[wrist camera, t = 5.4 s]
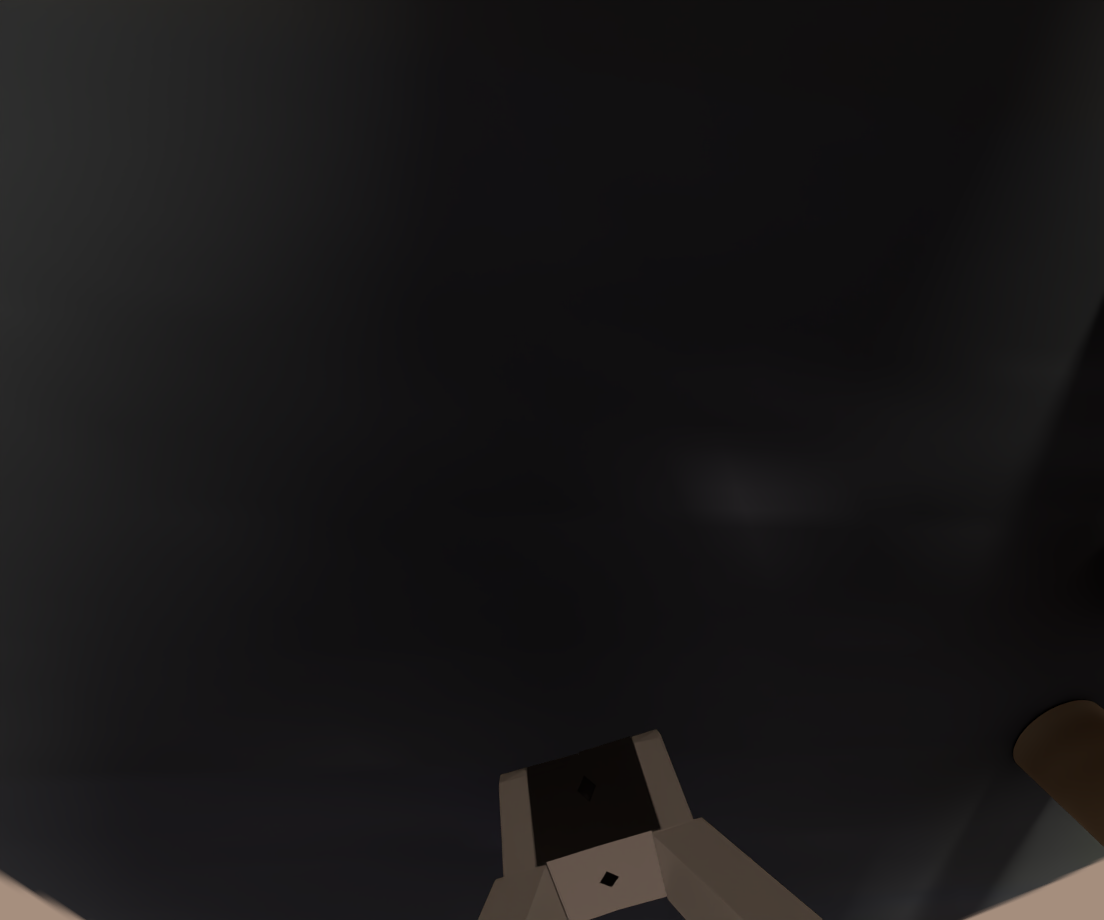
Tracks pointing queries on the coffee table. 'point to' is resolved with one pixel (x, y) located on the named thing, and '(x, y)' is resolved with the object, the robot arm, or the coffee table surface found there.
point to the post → (1068, 760)
